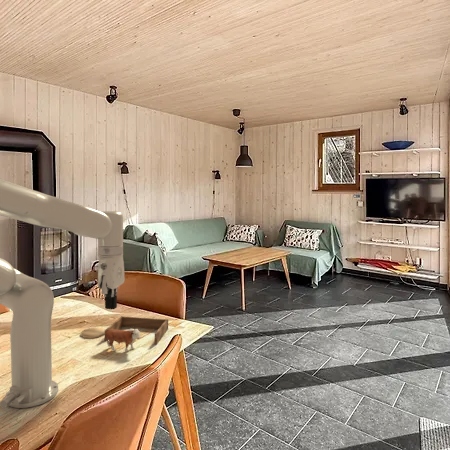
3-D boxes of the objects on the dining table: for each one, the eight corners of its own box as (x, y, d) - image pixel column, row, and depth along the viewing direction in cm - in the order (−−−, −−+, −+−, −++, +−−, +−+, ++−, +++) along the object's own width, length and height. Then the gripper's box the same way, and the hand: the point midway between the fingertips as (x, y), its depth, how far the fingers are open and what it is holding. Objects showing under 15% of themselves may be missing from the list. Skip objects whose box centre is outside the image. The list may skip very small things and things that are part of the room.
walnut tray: (156, 344, 132) (156, 334, 131) (104, 340, 134) (104, 330, 133) (168, 329, 147) (168, 319, 147) (121, 325, 149) (121, 316, 149)
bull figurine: (139, 354, 123) (139, 331, 122) (103, 350, 126) (103, 327, 125) (144, 349, 127) (144, 327, 127) (109, 345, 130) (109, 323, 129)
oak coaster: (99, 339, 135) (99, 336, 135) (76, 337, 136) (76, 335, 136) (109, 330, 144) (109, 328, 144) (88, 328, 145) (88, 326, 145)
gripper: (112, 255, 105) (112, 317, 106) (131, 247, 120) (131, 301, 121) (87, 254, 106) (88, 315, 107) (109, 246, 120) (109, 300, 122)
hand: (111, 308), depth 114 cm, fingers closed
